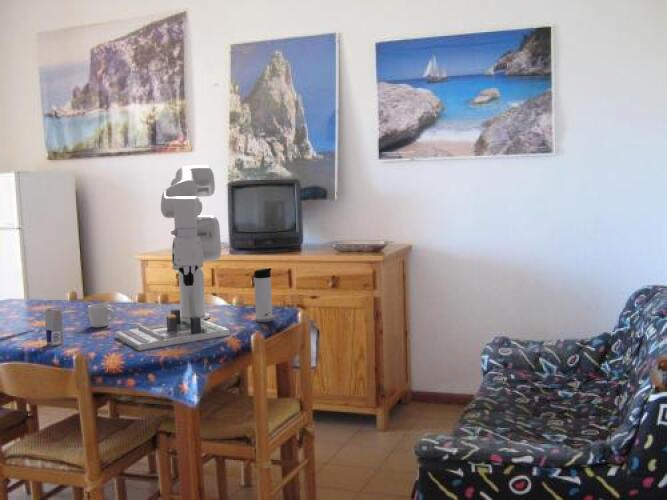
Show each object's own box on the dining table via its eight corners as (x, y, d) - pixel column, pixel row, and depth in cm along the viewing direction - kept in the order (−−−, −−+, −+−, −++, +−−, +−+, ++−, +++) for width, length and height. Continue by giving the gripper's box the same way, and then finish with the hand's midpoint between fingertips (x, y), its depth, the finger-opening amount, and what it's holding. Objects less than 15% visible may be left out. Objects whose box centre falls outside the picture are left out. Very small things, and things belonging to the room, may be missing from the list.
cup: (121, 324, 258) (120, 304, 257) (108, 329, 250) (107, 308, 249) (98, 323, 261) (96, 303, 260) (84, 328, 254) (82, 307, 253)
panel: (115, 337, 236) (114, 316, 236) (201, 324, 254) (200, 304, 254) (138, 350, 217) (137, 328, 216) (229, 335, 235) (228, 314, 234)
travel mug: (270, 322, 254) (268, 269, 251) (253, 322, 255) (251, 269, 253) (275, 319, 260) (273, 267, 257) (258, 318, 261) (256, 267, 259)
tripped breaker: (167, 329, 236) (166, 315, 235) (173, 328, 237) (172, 314, 237) (170, 331, 233) (169, 316, 233) (176, 329, 235) (176, 315, 234)
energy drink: (50, 342, 231) (47, 308, 230) (66, 341, 232) (63, 307, 231) (44, 346, 226) (42, 311, 225) (61, 345, 227) (58, 310, 225)
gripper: (169, 235, 228) (172, 289, 230) (210, 232, 237) (213, 284, 239) (161, 234, 235) (164, 286, 237) (201, 231, 243) (204, 281, 245)
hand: (188, 285), depth 238 cm, fingers closed
